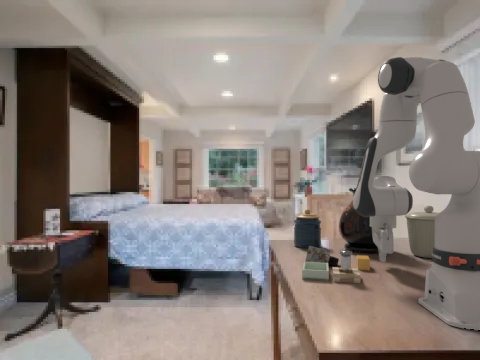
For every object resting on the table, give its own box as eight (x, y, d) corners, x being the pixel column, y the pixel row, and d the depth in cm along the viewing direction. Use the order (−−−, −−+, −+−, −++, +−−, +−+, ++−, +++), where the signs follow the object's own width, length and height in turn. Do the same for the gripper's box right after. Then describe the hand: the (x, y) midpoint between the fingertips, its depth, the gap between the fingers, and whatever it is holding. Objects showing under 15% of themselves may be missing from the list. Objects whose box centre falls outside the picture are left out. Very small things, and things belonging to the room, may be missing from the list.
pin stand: (360, 283, 107) (360, 275, 107) (333, 281, 109) (333, 273, 109) (357, 276, 115) (357, 268, 115) (332, 274, 117) (332, 267, 117)
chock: (369, 270, 123) (369, 259, 123) (357, 270, 124) (357, 258, 124) (367, 266, 129) (368, 255, 128) (356, 266, 129) (356, 255, 129)
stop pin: (352, 280, 110) (352, 252, 110) (340, 280, 111) (340, 252, 111) (351, 277, 113) (351, 250, 114) (339, 276, 114) (339, 249, 114)
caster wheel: (336, 270, 133) (336, 272, 124) (307, 261, 136) (304, 263, 127) (340, 252, 134) (340, 254, 124) (310, 244, 137) (308, 245, 128)
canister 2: (455, 255, 148) (455, 205, 148) (452, 263, 133) (452, 208, 133) (408, 250, 158) (408, 203, 158) (401, 257, 144) (401, 205, 144)
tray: (328, 280, 110) (328, 271, 110) (302, 279, 112) (302, 269, 112) (327, 271, 121) (328, 263, 121) (303, 270, 123) (303, 261, 123)
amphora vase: (395, 256, 146) (395, 188, 146) (341, 254, 149) (342, 188, 149) (382, 246, 167) (382, 187, 167) (336, 244, 171) (336, 187, 171)
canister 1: (291, 247, 164) (291, 209, 164) (295, 242, 176) (295, 207, 176) (320, 249, 160) (320, 210, 160) (322, 244, 172) (322, 208, 172)
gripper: (398, 226, 114) (398, 268, 114) (386, 218, 134) (386, 254, 134) (378, 225, 115) (377, 267, 115) (369, 218, 135) (369, 254, 135)
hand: (382, 260), depth 125 cm, fingers closed
